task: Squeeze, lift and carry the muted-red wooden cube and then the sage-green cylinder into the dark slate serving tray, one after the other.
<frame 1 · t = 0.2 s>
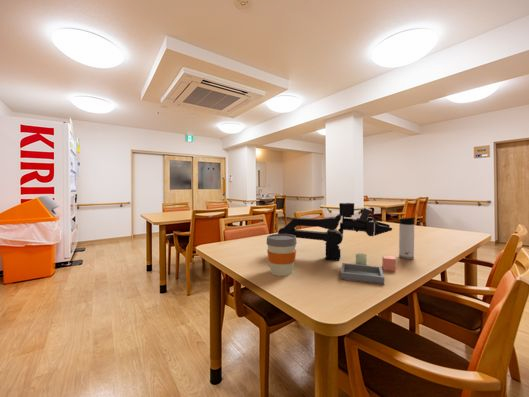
hand: (390, 227, 106), 17 cm above the table, tool horizontal, fingers open, 9 cm apart
reusable coffee cup: (281, 272, 99), on the table
green cylinder: (361, 265, 105), on the table
travel mug: (406, 257, 116), on the table
red cube: (388, 268, 101), on the table
serving tray: (361, 276, 93), on the table
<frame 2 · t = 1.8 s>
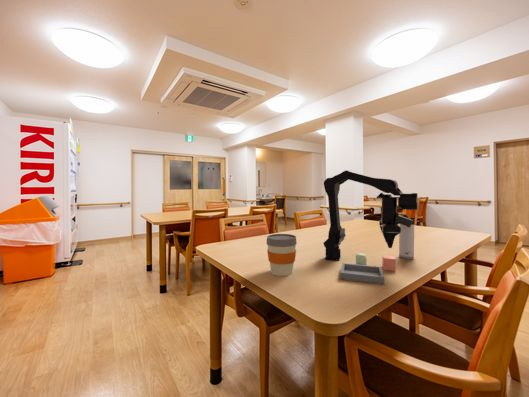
hand: (388, 245, 101), 10 cm above the table, tool pointing down, fingers open, 9 cm apart
nothing on the table moved.
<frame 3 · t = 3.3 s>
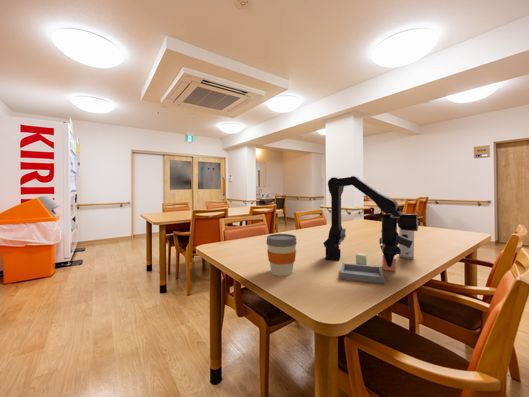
hand: (388, 264, 101), 2 cm above the table, tool pointing down, fingers closed on red cube, 4 cm apart
red cube: (388, 268, 101), on the table, touching gripper
everything else where it was.
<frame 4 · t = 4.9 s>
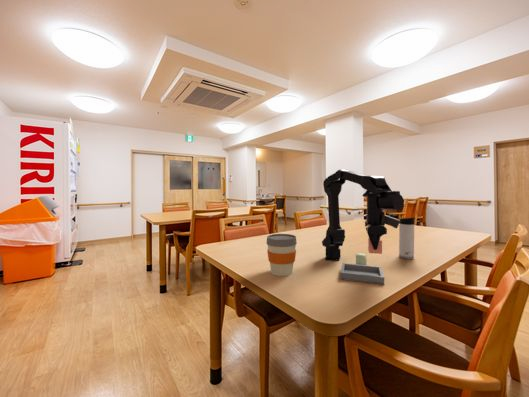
hand: (374, 248, 93), 11 cm above the table, tool pointing down, fingers closed on red cube, 4 cm apart
red cube: (374, 251, 93), point 10 cm above the table, touching gripper
everything else where it was.
when the fingers open (4 cm above the table, at t = 6.7 s): red cube drops 2 cm, resting on serving tray.
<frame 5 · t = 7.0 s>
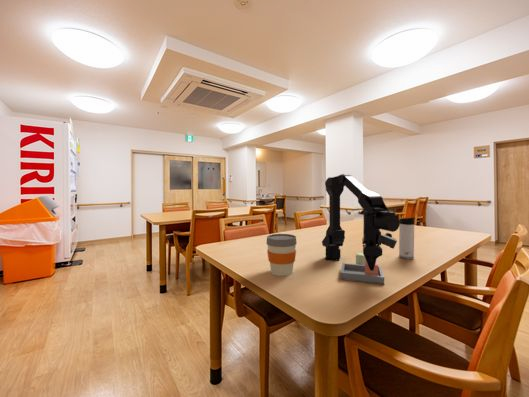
hand: (371, 267, 92), 4 cm above the table, tool pointing down, fingers open, 8 cm apart
red cube: (371, 275, 92), point 1 cm above the table, touching serving tray
everything else where it was.
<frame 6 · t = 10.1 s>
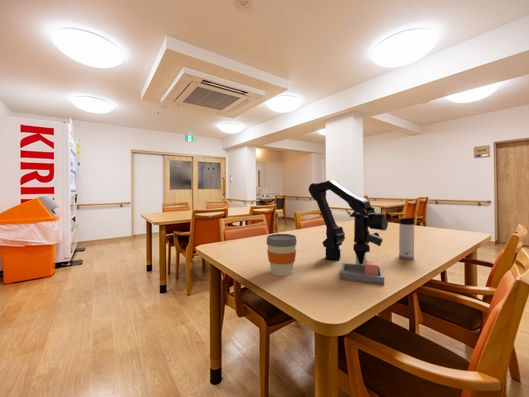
hand: (361, 262, 105), 2 cm above the table, tool pointing down, fingers closed on green cylinder, 4 cm apart
green cylinder: (361, 265, 105), on the table, touching gripper
everything else where it was.
when the fingers open (4 cm above the table, at t = 13.6 s): green cylinder drops 2 cm, resting on serving tray.
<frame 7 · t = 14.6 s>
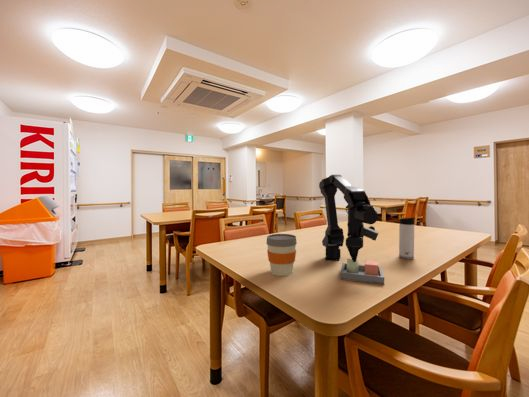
hand: (354, 258, 97), 6 cm above the table, tool pointing down, fingers open, 9 cm apart
green cylinder: (352, 272, 95), point 1 cm above the table, tilted 9°, touching gripper, serving tray
everything else where it was.
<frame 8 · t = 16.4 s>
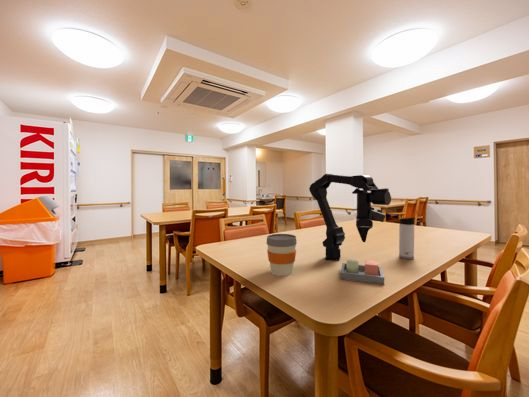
hand: (363, 239, 104), 12 cm above the table, tool pointing down, fingers open, 9 cm apart
green cylinder: (352, 273, 95), point 1 cm above the table, touching serving tray
everything else where it was.
at the end: red cube inside the target area on the serving tray (3.6 cm from its centre), point 0.6 cm above the serving tray's base; green cylinder inside the target area on the serving tray (3.4 cm from its centre), point 0.6 cm above the serving tray's base; the gripper is holding nothing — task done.
